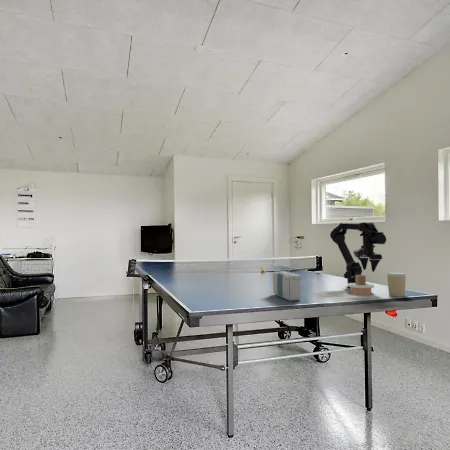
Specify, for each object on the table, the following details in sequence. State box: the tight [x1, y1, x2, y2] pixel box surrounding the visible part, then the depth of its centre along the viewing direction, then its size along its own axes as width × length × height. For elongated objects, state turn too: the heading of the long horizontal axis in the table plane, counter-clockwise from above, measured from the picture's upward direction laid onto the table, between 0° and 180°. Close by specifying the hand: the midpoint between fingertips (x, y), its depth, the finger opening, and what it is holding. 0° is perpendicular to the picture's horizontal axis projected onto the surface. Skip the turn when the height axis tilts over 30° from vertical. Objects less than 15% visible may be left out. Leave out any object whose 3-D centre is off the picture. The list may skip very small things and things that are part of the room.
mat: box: [313, 290, 353, 298], centre depth 195 cm, size 16×16×1 cm
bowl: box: [349, 287, 372, 295], centre depth 197 cm, size 11×11×4 cm
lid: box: [346, 274, 375, 289], centre depth 197 cm, size 14×14×6 cm
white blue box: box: [272, 261, 302, 302], centre depth 189 cm, size 21×8×20 cm, turn 14°
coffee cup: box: [386, 271, 407, 298], centre depth 191 cm, size 9×9×12 cm
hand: (368, 270), depth 203 cm, fingers open, 9 cm apart
